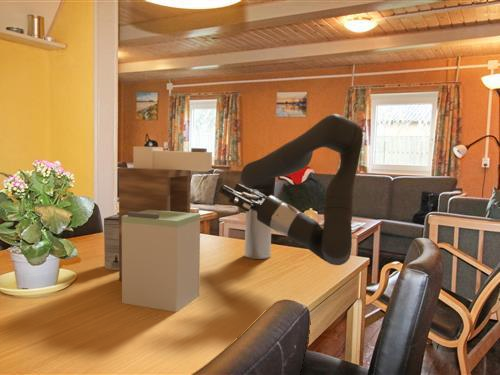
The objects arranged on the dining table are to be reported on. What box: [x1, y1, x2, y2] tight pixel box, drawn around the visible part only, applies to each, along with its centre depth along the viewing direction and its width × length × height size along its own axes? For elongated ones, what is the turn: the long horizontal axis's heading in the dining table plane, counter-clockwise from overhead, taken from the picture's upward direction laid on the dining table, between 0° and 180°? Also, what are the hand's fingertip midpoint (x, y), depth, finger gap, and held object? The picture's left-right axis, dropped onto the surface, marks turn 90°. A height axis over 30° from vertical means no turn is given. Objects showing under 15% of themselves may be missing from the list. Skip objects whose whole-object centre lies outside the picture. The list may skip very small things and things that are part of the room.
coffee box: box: [103, 213, 119, 271], centre depth 137 cm, size 9×6×16 cm
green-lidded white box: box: [121, 210, 201, 313], centre depth 108 cm, size 12×15×22 cm
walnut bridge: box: [118, 166, 192, 282], centre depth 125 cm, size 14×15×32 cm
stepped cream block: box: [132, 146, 213, 172], centre depth 122 cm, size 6×22×6 cm, turn 71°
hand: (228, 187), depth 116 cm, fingers open, 8 cm apart
